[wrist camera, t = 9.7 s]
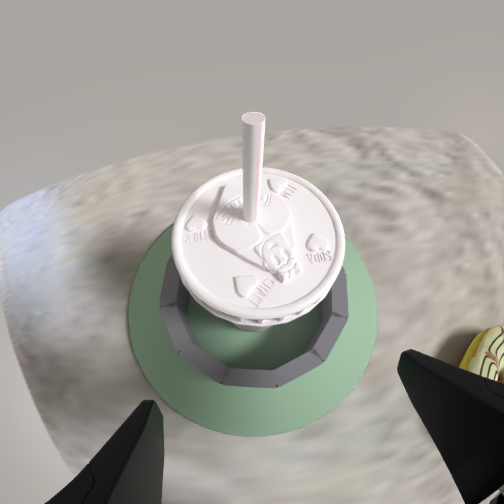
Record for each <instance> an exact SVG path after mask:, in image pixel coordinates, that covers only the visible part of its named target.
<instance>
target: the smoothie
mask: <svg viewBox="0 0 504 504" xmlns="http://www.w3.org/2000/svg"><path fill="white" fill-rule="evenodd" d="M264 133H265V116H264V115H263V114H261V113H258V112H248V113H246V114H244V115H243V116H242V161H243V168H241V169H236V170H231V171H228V172H225V173H222V174H220V175H217V176H215V177H213V178H211V179H210V180H208V181H206V182H205V183H203V184H202V185H201V186H199V187H198V188H197V189H196V190H195V191H193V193H192V194H191V195H190V196H189V197H188V198H187V199H186V201H185V202H184V203H183V205H182V207H181V208H180V210H179V212H178V214H177V216H176V219H175V222H174V226H173V230H172V243H171V244H172V253H173V258H174V261H175V264H176V267H177V269H178V272H179V274H180V277H181V280H182V283H183V284H184V286H185V287H186V289H187V290H188V291H189V293H190V294H191V295H192V297H193V298H194V299H195V301H196V302H198V303H199V304H200V305H201V306H203V307H204V308H205V309H207V310H208V311H209V312H211V313H212V314H213V315H215V316H217V317H220V318H222V319H225V320H227V321H230V322H232V323H233V324H234V325H235V326H237V327H238V328H240V329H241V330H244V331H247V332H260V331H263V330H266V329H268V328H269V327H271V326H272V325H277V324H283V323H287V322H290V321H292V320H294V319H296V318H298V317H300V316H302V315H304V314H306V313H308V312H309V311H311V310H312V309H313V308H314V307H315V306H316V305H317V304H318V303H319V302H321V301H322V300H323V299H324V298H325V297H326V295H327V293H328V292H329V290H330V288H331V287H332V285H333V283H334V282H335V280H336V278H337V276H338V274H339V272H340V270H341V267H342V264H343V260H344V255H345V235H344V230H343V226H342V223H341V220H340V218H339V215H338V213H337V211H336V210H335V208H334V206H333V205H332V204H331V202H330V201H329V200H328V198H327V197H326V196H325V195H324V194H323V193H322V192H321V191H320V190H319V189H317V188H316V187H315V186H314V185H312V184H311V183H309V182H308V181H306V180H304V179H303V178H300V177H298V176H296V175H294V174H291V173H289V172H285V171H282V170H278V169H273V168H264V167H262V164H263V149H264Z"/></svg>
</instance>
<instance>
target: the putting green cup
mask: <svg viewBox="0 0 504 504" xmlns="http://www.w3.org/2000/svg"><path fill="white" fill-rule="evenodd" d="M173 226H174V224H173V225H172V226H171V227H170V228H168V229H167V230H166V231H165V232H164V233H163V234H162V235H161V236H160V237H159V238H158V239H157V240H156V242H155V243H154V244H153V246H152V247H151V248H150V250H149V251H148V252H147V254H146V256H145V257H144V259H143V261H142V263H141V264H140V267H139V269H138V271H137V274H136V276H135V279H134V282H133V286H132V289H131V293H130V301H129V308H128V323H129V331H130V338H131V343H132V346H133V350H134V353H135V356H136V359H137V361H138V363H139V365H140V368H141V370H142V372H143V373H144V375H145V377H146V378H147V380H148V381H149V383H150V384H151V386H152V387H153V388H154V390H155V391H156V392H157V393H158V394H159V395H160V396H161V398H162V399H163V400H164V401H165V402H167V403H168V404H169V405H170V406H171V407H172V408H173V409H175V410H176V411H177V412H179V413H180V414H182V415H183V416H185V417H186V418H188V419H190V420H191V421H193V422H195V423H197V424H199V425H202V426H204V427H206V428H208V429H212V430H215V431H218V432H222V433H226V434H231V435H239V436H269V435H275V434H281V433H285V432H289V431H292V430H295V429H298V428H301V427H303V426H305V425H307V424H309V423H312V422H314V421H316V420H317V419H319V418H321V417H322V416H324V415H325V414H327V413H328V412H329V411H331V410H332V409H333V408H334V407H336V406H337V405H338V404H339V403H340V402H341V401H342V400H343V399H344V398H345V397H346V396H347V395H348V394H349V393H350V391H351V390H352V389H353V388H354V387H355V385H356V384H357V382H358V381H359V379H360V377H361V376H362V374H363V372H364V371H365V369H366V366H367V364H368V362H369V359H370V357H371V354H372V351H373V347H374V344H375V340H376V333H377V325H378V310H377V301H376V295H375V290H374V287H373V283H372V280H371V277H370V275H369V272H368V270H367V268H366V265H365V263H364V262H363V260H362V258H361V257H360V255H359V253H358V252H357V250H356V249H355V248H354V246H353V245H352V244H351V242H350V241H349V240H348V239H347V238H346V237H345V255H344V260H343V264H342V267H341V270H340V272H339V274H338V276H337V278H336V280H335V282H334V283H333V285H332V287H331V288H330V290H329V292H328V293H327V295H326V297H325V298H324V299H323V300H322V301H321V302H319V303H318V304H317V305H316V306H315V307H314V308H313V309H312V310H311V311H309V312H308V313H306V314H304V315H302V316H300V317H298V318H296V319H294V320H292V321H290V322H287V323H283V324H277V325H272V326H271V327H269V328H268V329H266V330H263V331H260V332H247V331H244V330H241V329H240V328H238V327H237V326H235V325H234V324H233V323H232V322H230V321H227V320H225V319H222V318H220V317H217V316H215V315H213V314H212V313H211V312H209V311H208V310H207V309H205V308H204V307H203V306H201V305H200V304H199V303H198V302H196V301H195V299H194V298H193V297H192V295H191V294H190V293H189V291H188V290H187V289H186V287H185V286H184V284H183V283H182V280H181V277H180V274H179V272H178V269H177V267H176V264H175V261H174V258H173V253H172V244H171V243H172V230H173Z"/></svg>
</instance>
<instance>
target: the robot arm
mask: <svg viewBox="0 0 504 504" xmlns="http://www.w3.org/2000/svg"><path fill="white" fill-rule="evenodd" d="M397 371H398V374H399V376H400V379H401V381H402V383H403V385H404V387H405V389H406V392H407V394H408V396H409V398H410V400H411V402H412V404H413V406H414V408H415V409H416V411H417V413H418V415H419V416H420V418H421V420H422V421H423V423H424V425H425V427H426V428H427V430H428V432H429V434H430V436H431V437H432V439H433V441H434V443H435V445H436V446H437V448H438V450H439V452H440V454H441V456H442V458H443V460H444V461H445V463H446V465H447V467H448V469H449V471H450V473H451V475H452V477H453V479H454V481H455V483H456V485H457V487H458V490H459V492H460V494H461V496H462V498H463V500H464V502H465V504H479V503H480V502H482V501H483V500H484V499H486V498H487V497H489V496H490V495H491V494H493V493H494V492H495V491H497V490H498V489H499V490H500V493H498V494H497V495H496V496H495V497H494V498H493V499H492V500H491V501H490V504H504V383H501V382H498V381H495V380H492V379H489V378H486V377H483V376H481V375H478V374H475V373H472V372H470V371H467V370H464V369H462V368H459V367H456V366H454V365H451V364H449V363H446V362H443V361H441V360H438V359H436V358H433V357H430V356H428V355H425V354H423V353H420V352H418V351H415V350H413V349H409V350H406V351H404V352H402V353H401V356H400V360H399V363H398V367H397ZM163 467H164V431H163V416H162V413H161V411H160V409H159V407H158V406H157V404H156V402H155V401H154V400H143V401H142V402H141V403H140V404H139V405H138V407H137V408H136V409H135V410H134V411H133V412H132V414H131V415H130V416H129V417H128V418H127V419H126V421H125V422H124V423H123V424H122V425H121V426H120V427H119V429H118V430H117V431H116V432H115V433H114V434H113V436H112V437H111V438H110V439H109V440H108V441H107V442H106V444H105V445H104V446H103V447H102V448H101V449H100V450H99V452H98V453H97V454H96V455H95V456H94V457H93V458H92V460H91V461H90V462H89V464H87V465H86V466H85V467H84V469H83V470H82V471H81V472H80V473H79V474H78V475H77V476H76V477H75V478H74V479H73V480H72V481H71V482H70V483H69V484H68V485H67V486H65V487H64V488H63V489H62V490H61V491H60V492H59V493H57V494H56V495H55V496H54V497H53V498H51V499H50V500H49V501H48V502H46V503H45V504H161V500H162V482H163Z"/></svg>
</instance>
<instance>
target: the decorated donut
mask: <svg viewBox="0 0 504 504" xmlns="http://www.w3.org/2000/svg"><path fill="white" fill-rule="evenodd" d="M459 368H462V369H464V370H467V371H470V372H472V373H475V374H478V375H481V376H483V377H486V378H489V379H492V380H495V381H498V382H501V383H504V325H500V326H495V327H492V328H488V329H486V330H484V331H482V332H480V333H479V334H478V335H477V336H476V337H475V338H474V340H473V341H472V343H471V344H470V346H469V348H468V349H467V351H466V352H465V354H464V355H463V358H462V360H461V363H460V364H459Z"/></svg>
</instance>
